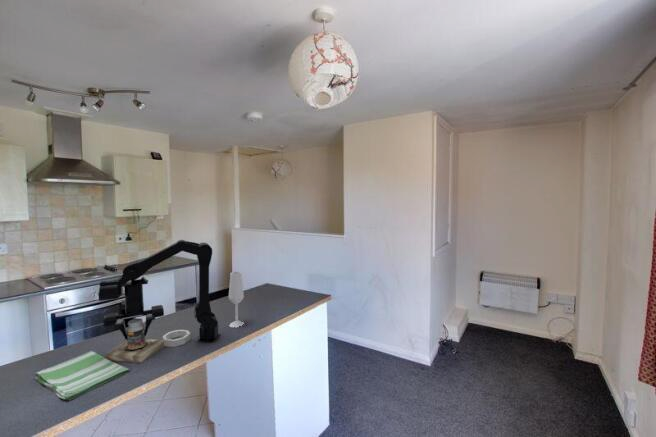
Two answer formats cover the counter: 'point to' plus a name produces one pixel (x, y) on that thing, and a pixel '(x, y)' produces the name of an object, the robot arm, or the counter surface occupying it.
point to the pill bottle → (135, 334)
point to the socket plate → (136, 356)
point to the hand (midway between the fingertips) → (136, 337)
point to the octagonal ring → (176, 342)
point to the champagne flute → (236, 295)
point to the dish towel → (80, 375)
